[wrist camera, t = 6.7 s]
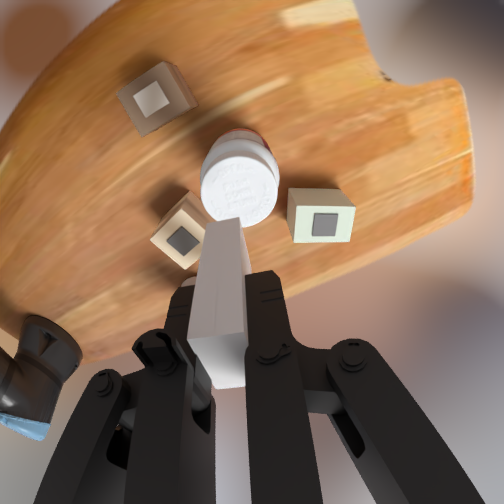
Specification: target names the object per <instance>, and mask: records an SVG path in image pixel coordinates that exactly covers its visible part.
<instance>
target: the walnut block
mask: <svg viewBox="0 0 504 504" xmlns="http://www.w3.org/2000/svg"><path fill="white" fill-rule="evenodd" d="M116 95H117V96H118V98H119V100H120V101H121V103H122V105H123V107H124V108H125V110H126V112H127V113H128V115H129V117H130V119H131V120H132V122H133V124H134V125H135V127H136V129H137V130H138V132H139V134H140V135H141V137H144V136H145V135H147V134H149V133H151V132H154V131H156V130H158V129H159V128H161V127H162V126H164V125H166V124H167V123H169V122H171V121H172V120H174V119H176V118H177V117H179V116H181V115H182V114H184V113H186V112H188V111H189V110H191V109H193V108H195V107H197V106H199V104H198V102H197V101H196V99H195V97H194V95H193V94H192V92H191V90H190V88H189V87H188V85H187V83H186V81H185V80H184V78H183V76H182V75H181V73H180V71H179V69H178V68H177V66H175V65H173V64H170V63H168V62H165V61H162V62H161V63H159V64H158V65H156V66H154V67H153V68H151V69H150V70H148V71H147V72H145V73H144V74H142V75H141V76H139V77H138V78H136V79H135V80H133V81H132V82H130V83H129V84H128V85H126V86H125V87H123V88H122V89H121V90H119V91H118V92H117V93H116Z"/></svg>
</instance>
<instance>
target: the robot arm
mask: <svg viewBox="0 0 504 504" xmlns="http://www.w3.org/2000/svg"><path fill="white" fill-rule="evenodd" d="M132 350H133V351H134V353H135V354H136V355H137V357H138V358H139V359H140V361H141V362H142V363H143V364H144V366H145V368H144V369H142V370H139V371H136V372H133V373H130V374H127V375H124V376H121V375H120V374H119V373H118V372H117V371H115V370H113V369H105V370H102V371H99V372H98V373H96V374H95V375H94V376H93V377H92V378H91V380H90V381H89V383H88V385H87V387H86V389H85V390H84V392H83V394H82V396H81V398H80V400H79V402H78V404H77V406H76V408H75V409H74V411H73V413H72V415H71V417H70V419H69V421H68V423H67V425H66V427H65V430H64V432H63V434H62V436H61V438H60V440H59V442H58V444H57V447H56V449H55V451H54V454H53V456H52V458H51V460H50V463H49V465H48V467H47V470H46V472H45V475H44V477H43V480H42V482H41V485H40V487H39V490H38V492H37V495H36V498H35V501H34V503H33V504H216V489H215V488H216V486H215V417H216V414H215V413H216V404H215V400H214V398H213V396H212V395H211V384H212V383H213V385H214V387H215V388H216V389H225V388H235V387H243V386H245V388H246V409H247V430H248V448H249V466H250V484H251V500H252V504H323V499H322V493H321V487H320V481H319V475H318V469H317V463H316V456H315V450H314V444H313V439H312V433H311V428H310V422H309V416H308V412H310V413H321V414H327V415H328V417H329V419H330V421H331V423H332V424H333V426H334V428H335V430H336V432H337V433H338V435H339V437H340V439H341V441H342V443H343V444H344V446H345V448H346V450H347V452H348V453H349V455H350V457H351V459H352V461H353V462H354V464H355V466H356V468H357V470H358V471H359V473H360V475H361V477H362V479H363V480H364V482H365V484H366V486H367V487H368V489H369V491H370V493H371V494H372V496H373V498H374V500H375V502H376V504H485V502H484V501H483V499H482V498H481V496H480V495H479V493H478V491H477V490H476V488H475V486H474V485H473V483H472V482H471V480H470V479H469V477H468V476H467V474H466V473H465V471H464V470H463V468H462V467H461V465H460V464H459V462H458V461H457V459H456V458H455V456H454V455H453V453H452V452H451V450H450V449H449V448H448V446H447V444H446V443H445V442H444V440H443V439H442V437H441V436H440V434H439V433H438V432H437V430H436V429H435V427H434V426H433V425H432V423H431V422H430V420H429V419H428V417H427V416H426V415H425V413H424V412H423V411H422V409H421V408H420V407H419V405H418V404H417V402H416V401H415V400H414V398H413V397H412V396H411V394H410V393H409V392H408V390H407V389H406V388H405V386H404V385H403V384H402V382H401V381H400V380H399V378H398V377H397V376H396V375H395V373H394V372H393V370H392V369H391V368H390V367H389V365H388V364H387V363H386V361H385V360H384V359H383V357H382V356H381V355H380V354H379V352H378V351H377V350H376V348H375V347H373V346H372V345H371V344H370V343H369V342H367V341H364V340H361V339H346V340H343V341H340V342H338V343H337V344H335V345H334V346H333V347H332V348H331V349H315V348H309V347H306V346H304V345H302V344H300V343H299V342H298V341H296V339H295V338H294V337H293V335H292V332H291V329H290V324H289V319H288V314H287V309H286V305H285V300H284V295H283V291H282V286H281V281H280V278H279V277H278V276H277V275H276V274H275V273H274V271H273V270H269V271H264V272H259V273H253V274H252V273H251V265H250V260H249V256H248V252H247V247H246V243H245V239H244V234H243V230H242V226H241V221H240V217H236V218H231V219H226V220H221V221H216V222H211V223H207V224H206V229H205V235H204V240H203V245H202V250H201V255H200V261H199V266H198V272H197V278H196V284H195V285H189V286H183V287H179V288H178V289H177V290H176V292H175V293H174V294H173V296H172V297H171V301H170V305H169V310H168V313H167V318H166V321H165V326H164V329H154V330H150V331H148V332H146V333H144V334H143V335H141V336H140V337H139V338H138V339H137V340H136V341H135V343H134V345H133V347H132ZM81 360H82V351H81V349H80V347H79V346H78V344H77V343H76V342H75V340H74V339H73V338H72V337H71V336H70V335H69V334H68V333H67V332H65V331H64V330H63V329H62V328H60V327H59V326H58V325H56V324H54V323H53V322H51V321H49V320H47V319H45V318H42V317H39V316H29V317H28V318H27V319H26V320H25V322H24V324H23V325H22V328H21V333H20V338H19V344H18V350H17V353H16V355H15V357H14V359H13V358H12V357H10V356H9V354H7V353H6V352H5V351H4V350H3V349H2V348H1V347H0V423H1V424H3V425H4V426H6V427H8V428H10V429H12V430H14V431H16V432H18V433H20V434H22V435H24V436H26V437H29V438H31V439H34V440H37V441H41V440H43V439H44V438H45V436H46V434H47V431H48V429H49V426H50V425H51V424H50V423H51V420H52V416H53V413H54V410H55V407H56V404H57V401H58V397H59V395H60V392H61V389H62V386H63V384H64V383H65V381H66V380H67V379H68V378H69V377H70V376H71V375H72V374H73V373H74V372H75V370H76V369H77V368H78V367H79V365H80V363H81ZM118 424H119V425H118ZM117 425H118V426H117Z"/></svg>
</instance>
